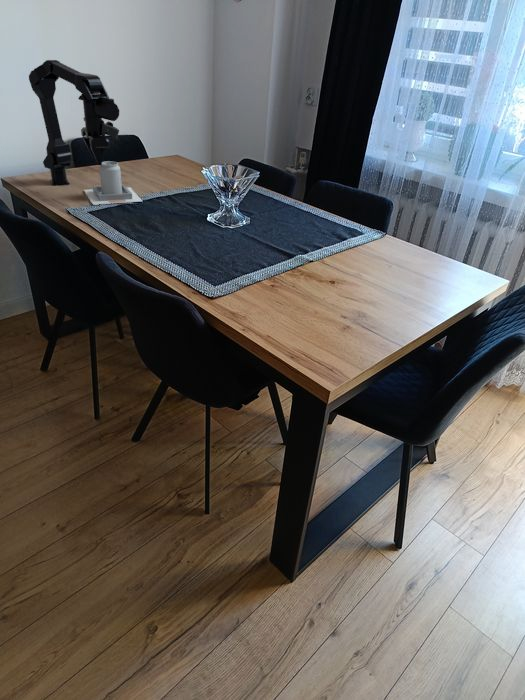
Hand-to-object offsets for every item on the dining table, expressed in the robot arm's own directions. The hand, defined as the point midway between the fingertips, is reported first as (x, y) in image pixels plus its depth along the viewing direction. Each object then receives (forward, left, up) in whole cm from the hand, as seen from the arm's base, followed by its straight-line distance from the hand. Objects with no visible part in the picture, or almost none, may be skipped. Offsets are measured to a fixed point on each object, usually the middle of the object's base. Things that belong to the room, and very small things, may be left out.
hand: (97, 161), depth 183 cm
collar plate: (+2, +4, -13) cm, 13 cm away
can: (+2, +4, -12) cm, 13 cm away
